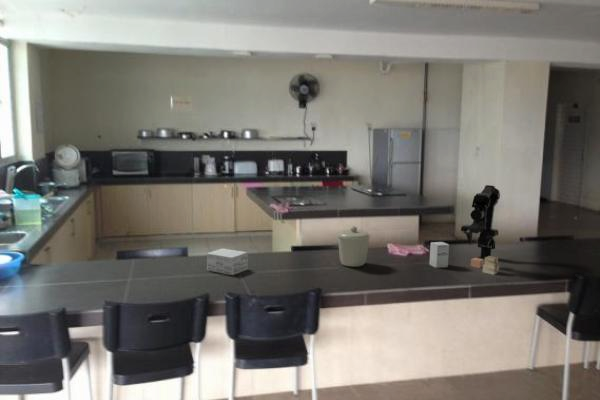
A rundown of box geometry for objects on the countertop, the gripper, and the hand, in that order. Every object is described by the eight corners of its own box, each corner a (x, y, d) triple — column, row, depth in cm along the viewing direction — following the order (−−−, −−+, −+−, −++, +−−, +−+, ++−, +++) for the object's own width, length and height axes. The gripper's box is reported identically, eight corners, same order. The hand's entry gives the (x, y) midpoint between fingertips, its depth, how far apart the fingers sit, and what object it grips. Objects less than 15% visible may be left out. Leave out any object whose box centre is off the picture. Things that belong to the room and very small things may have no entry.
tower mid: (488, 263, 272) (488, 255, 272) (497, 265, 269) (498, 257, 268) (484, 265, 269) (484, 257, 268) (493, 266, 265) (494, 259, 265)
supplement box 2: (248, 269, 267) (248, 252, 266) (232, 275, 256) (232, 257, 255) (222, 264, 276) (222, 247, 274) (206, 270, 265) (206, 252, 263)
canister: (368, 270, 269) (369, 230, 266) (333, 267, 272) (334, 228, 269) (370, 261, 286) (371, 224, 283) (338, 259, 290) (339, 222, 287)
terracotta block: (474, 264, 284) (475, 257, 283) (483, 266, 280) (484, 259, 280) (470, 266, 280) (471, 259, 280) (479, 268, 277) (480, 261, 276)
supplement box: (436, 268, 275) (437, 245, 273) (429, 264, 282) (430, 241, 280) (448, 267, 277) (449, 244, 275) (441, 263, 284) (442, 241, 282)
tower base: (487, 270, 273) (487, 263, 273) (498, 272, 269) (499, 265, 269) (482, 272, 269) (482, 265, 268) (493, 274, 265) (494, 267, 264)
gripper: (457, 217, 277) (455, 245, 279) (491, 222, 264) (488, 251, 267) (466, 214, 285) (464, 242, 287) (499, 219, 272) (497, 248, 275)
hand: (478, 246), depth 279 cm, fingers open, 9 cm apart
